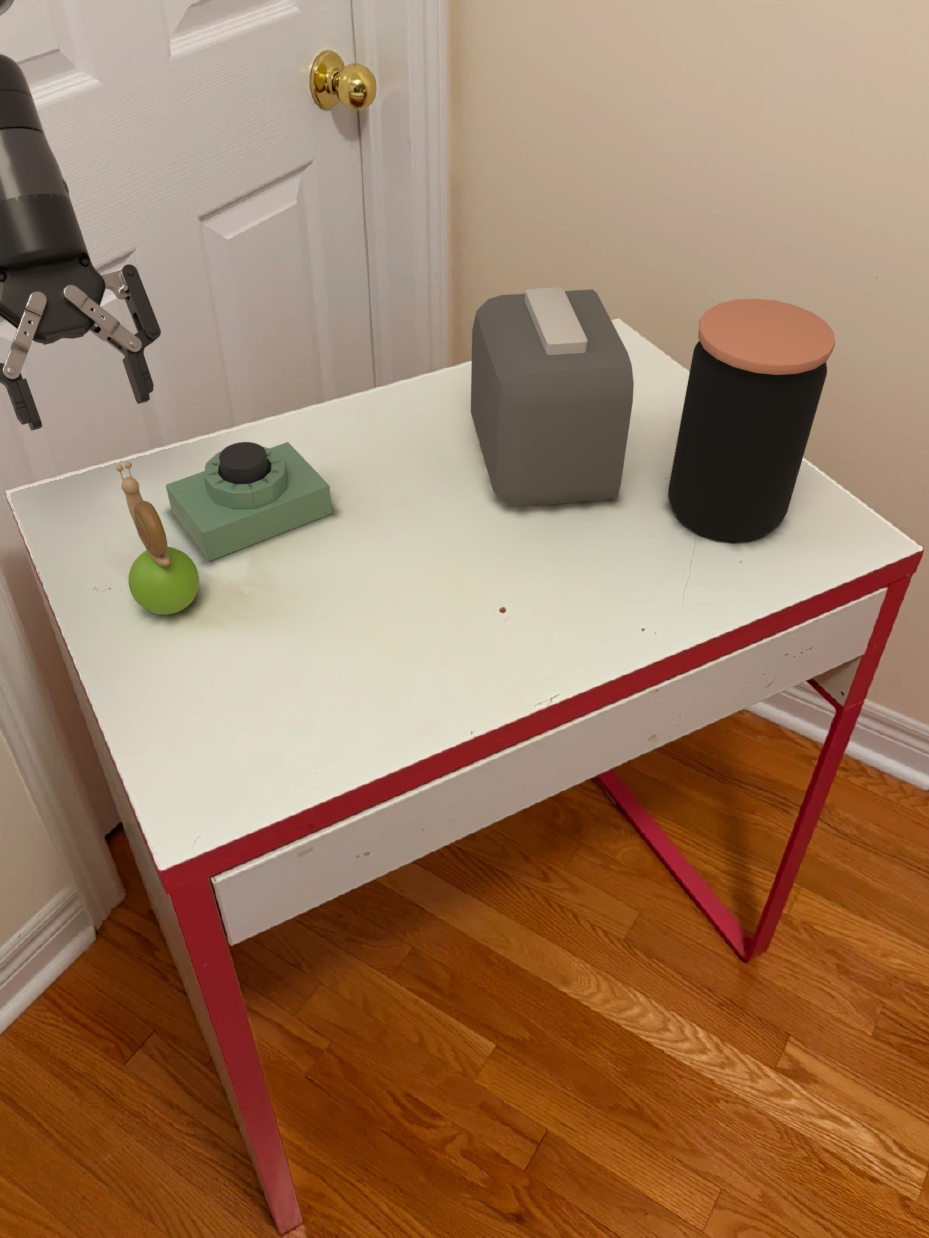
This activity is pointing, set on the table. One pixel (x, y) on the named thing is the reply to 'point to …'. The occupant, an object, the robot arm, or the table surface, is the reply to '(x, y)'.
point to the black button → (243, 463)
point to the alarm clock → (550, 396)
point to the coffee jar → (747, 417)
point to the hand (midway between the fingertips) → (91, 415)
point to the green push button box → (249, 503)
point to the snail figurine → (157, 559)
